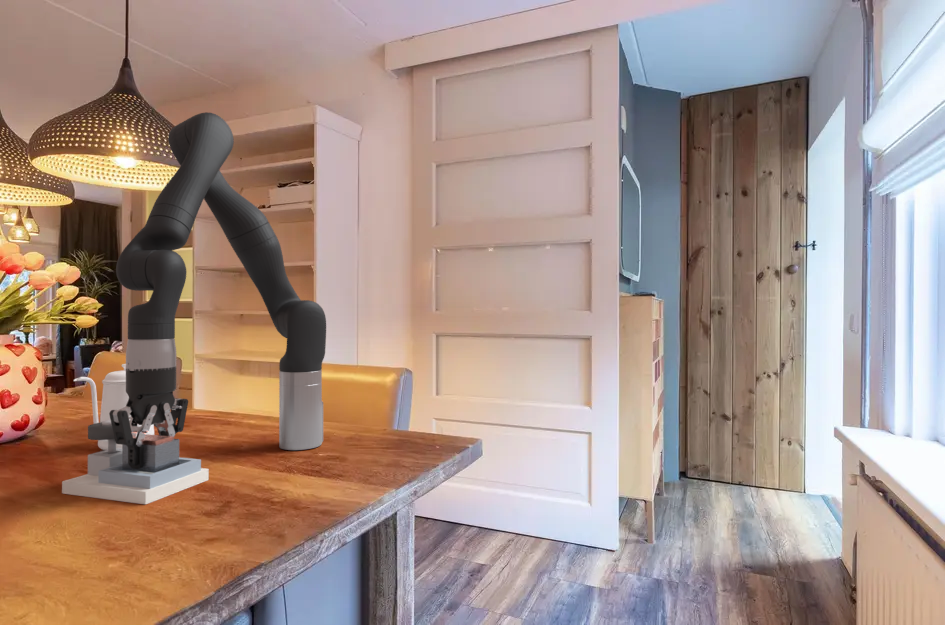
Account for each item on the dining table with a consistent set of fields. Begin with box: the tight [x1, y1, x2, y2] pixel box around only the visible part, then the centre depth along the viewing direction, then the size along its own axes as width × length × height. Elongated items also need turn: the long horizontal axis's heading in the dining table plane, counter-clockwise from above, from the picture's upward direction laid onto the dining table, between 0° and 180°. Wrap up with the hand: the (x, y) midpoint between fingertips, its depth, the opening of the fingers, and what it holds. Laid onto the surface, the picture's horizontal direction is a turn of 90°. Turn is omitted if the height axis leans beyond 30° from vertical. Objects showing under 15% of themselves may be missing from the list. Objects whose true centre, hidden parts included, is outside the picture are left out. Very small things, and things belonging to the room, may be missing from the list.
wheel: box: [87, 420, 130, 454], centre depth 95 cm, size 7×7×6 cm
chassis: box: [61, 448, 210, 505], centre depth 93 cm, size 13×18×6 cm
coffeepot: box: [73, 363, 155, 451], centre depth 121 cm, size 11×25×19 cm, turn 168°
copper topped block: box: [122, 434, 180, 473], centre depth 92 cm, size 5×7×5 cm
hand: (151, 462), depth 92 cm, fingers closed on copper topped block, 5 cm apart
